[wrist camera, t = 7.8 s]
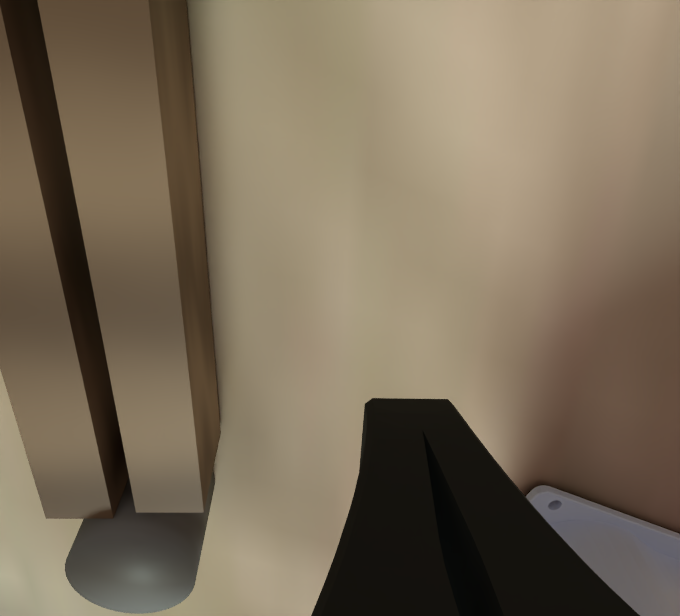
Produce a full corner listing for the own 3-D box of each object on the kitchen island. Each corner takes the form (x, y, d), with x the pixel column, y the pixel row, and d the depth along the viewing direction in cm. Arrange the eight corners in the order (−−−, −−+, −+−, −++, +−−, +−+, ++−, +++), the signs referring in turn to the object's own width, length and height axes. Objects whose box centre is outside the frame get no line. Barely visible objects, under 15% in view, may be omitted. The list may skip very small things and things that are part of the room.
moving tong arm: (254, 432, 20) (243, 512, 17) (162, 432, 20) (136, 512, 17) (226, -256, 11) (194, -340, 8) (62, -267, 11) (-32, -356, 8)
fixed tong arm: (218, 515, 23) (200, 612, 19) (72, 515, 22) (27, 614, 19) (148, -257, 12) (77, -357, 8) (-143, -278, 11) (-346, -390, 8)
